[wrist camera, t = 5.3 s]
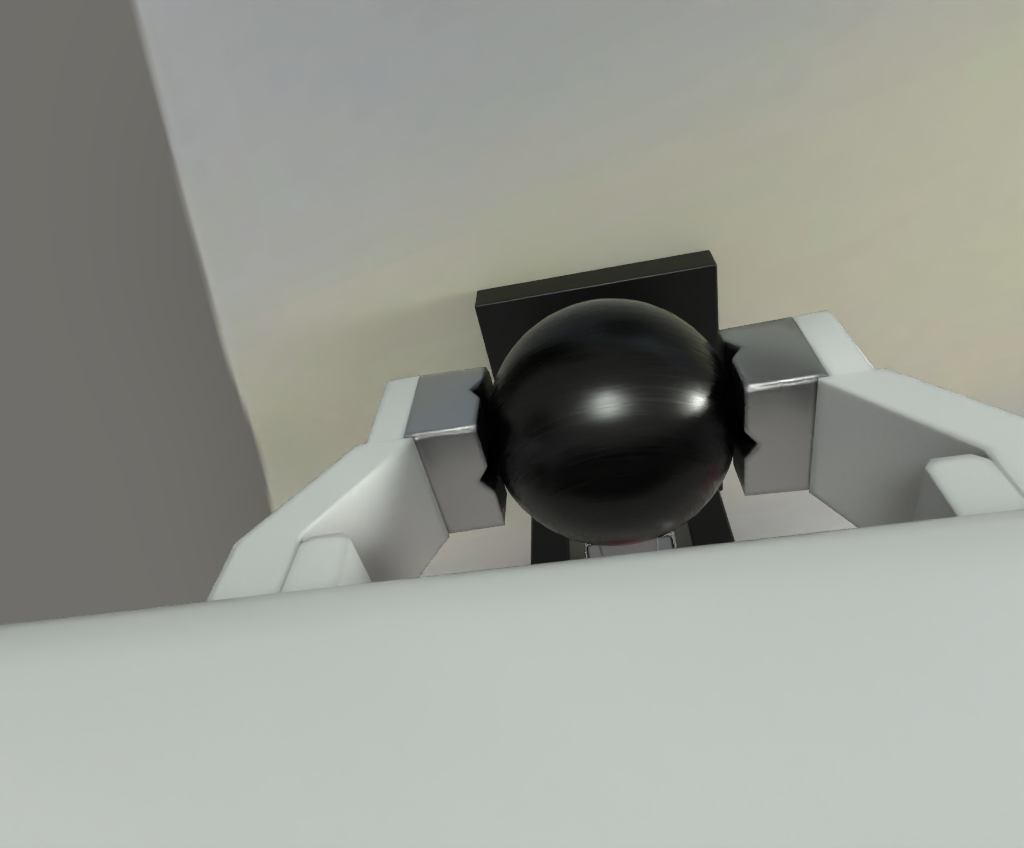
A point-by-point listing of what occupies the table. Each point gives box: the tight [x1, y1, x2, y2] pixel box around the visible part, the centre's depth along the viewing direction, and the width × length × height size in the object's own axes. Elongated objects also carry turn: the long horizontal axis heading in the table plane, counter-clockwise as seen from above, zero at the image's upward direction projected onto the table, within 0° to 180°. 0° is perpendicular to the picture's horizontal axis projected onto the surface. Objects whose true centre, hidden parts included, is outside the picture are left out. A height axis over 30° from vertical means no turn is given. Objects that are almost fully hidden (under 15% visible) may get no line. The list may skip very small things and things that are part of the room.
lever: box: [487, 298, 738, 558], centre depth 14 cm, size 13×3×3 cm, turn 12°
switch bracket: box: [475, 250, 735, 565], centre depth 21 cm, size 10×8×12 cm
